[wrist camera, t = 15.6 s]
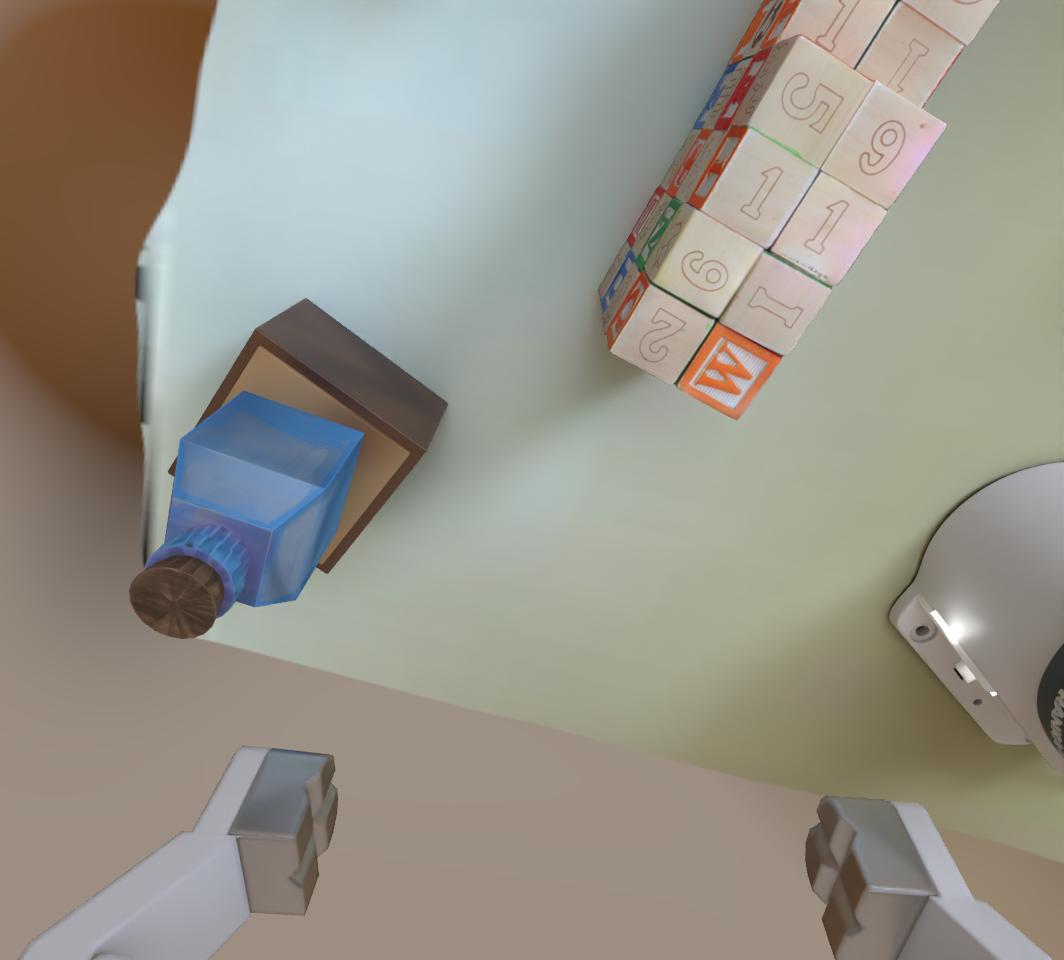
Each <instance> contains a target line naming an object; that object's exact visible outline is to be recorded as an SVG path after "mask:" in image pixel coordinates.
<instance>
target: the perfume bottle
mask: <svg viewBox="0 0 1064 960" xmlns="http://www.w3.org/2000/svg"><path fill="white" fill-rule="evenodd" d="M363 437H364V433H363V432H360V431H357V430H354V429H351V428H349V427H346V426H343V425H340V424H337V423H334V422H332V421H329V420H326V419H323V418H320V417H317V416H315V415H312V414H309V413H306V412H303V411H301V410H298V409H295V408H292V407H289V406H286V405H284V404H281V403H278V402H275V401H272V400H269V399H267V398H264V397H261V396H258V395H255V394H252V393H250V392H247V391H244V390H243V391H242V392H241V393H239V394H238V395H237V396H236V397H234V398H233V399H232V400H230V401H229V402H228V403H226V404H225V405H224V406H223V407H221V408H220V409H219V410H217V411H216V412H215V413H213V414H212V415H211V416H210V417H208V418H207V419H206V420H204V421H203V422H202V423H201V424H199V425H198V426H197V427H195V428H194V429H193V430H191V431H190V432H189V433H188V434H186V435H185V436H184V437H182V438H181V439H180V443H179V450H178V456H177V463H176V470H175V476H174V483H173V490H172V496H171V503H170V509H169V516H168V523H167V529H166V536H165V543H164V544H163V545H162V546H161V547H160V548H159V549H158V550H157V551H156V552H155V553H154V554H153V555H152V556H151V557H150V558H149V559H148V561H147V563H146V566H145V569H144V571H143V572H141V573H140V574H139V575H138V576H137V577H136V578H135V579H134V580H133V581H132V584H131V587H130V590H129V593H130V602H131V604H132V607H133V609H134V611H135V613H136V614H137V615H138V616H139V618H140V619H141V620H142V621H143V622H144V623H145V624H146V625H148V626H149V627H151V628H152V629H153V630H155V631H157V632H159V633H161V634H164V635H166V636H169V637H175V638H180V639H186V638H195V637H198V636H200V635H203V634H205V633H206V632H207V631H208V630H209V629H210V628H211V627H212V626H213V624H214V621H215V619H216V618H219V617H221V616H223V615H224V614H225V613H226V612H227V611H228V610H229V609H230V608H231V607H232V606H233V604H234V603H235V601H237V602H240V603H243V604H246V605H249V606H252V607H259V606H265V605H271V604H276V603H282V602H288V601H294V600H296V599H297V598H298V596H299V594H300V593H301V591H302V589H303V588H304V586H305V584H306V583H307V581H308V579H309V577H310V576H311V574H312V572H313V571H314V569H315V567H316V566H317V564H318V562H319V561H320V559H321V557H322V556H323V554H324V552H325V551H326V549H327V547H328V546H329V544H330V542H331V541H332V539H333V537H334V535H335V534H336V532H337V529H338V525H339V522H340V518H341V515H342V511H343V508H344V504H345V501H346V497H347V494H348V490H349V486H350V483H351V479H352V476H353V472H354V469H355V465H356V462H357V458H358V455H359V451H360V448H361V444H362V441H363Z"/></svg>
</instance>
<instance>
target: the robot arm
mask: <svg viewBox="0 0 1064 960" xmlns="http://www.w3.org/2000/svg"><path fill="white" fill-rule="evenodd" d="M889 618H890V621H891V623H892V624H893V625H894V627H895V628H896V629H897V630H898V631H899V632H900V634H901V635H902V636H903V637H904V638H905V639H906V641H907V642H908V643H909V644H910V645H911V646H912V648H913V649H914V650H915V651H916V652H917V654H918V655H919V656H920V657H921V658H922V659H923V661H924V662H925V663H926V664H927V665H928V666H929V668H930V669H931V670H932V671H933V672H934V673H935V675H936V676H937V677H938V678H939V679H940V681H941V682H942V683H943V684H944V685H945V686H946V688H947V689H948V690H949V691H950V692H951V693H952V695H953V696H954V697H955V698H956V699H957V700H958V702H959V703H960V704H961V705H962V706H963V708H964V709H965V710H966V711H967V712H968V713H969V715H970V716H971V717H972V718H973V719H974V720H975V722H976V723H977V724H978V725H979V726H980V727H981V728H982V730H983V731H984V732H985V733H986V734H987V735H988V736H989V738H990V739H991V740H993V741H994V742H996V743H998V744H1008V745H1026V744H1034V746H1035V747H1036V748H1037V749H1038V751H1039V752H1040V753H1041V755H1042V756H1043V757H1044V759H1045V760H1046V761H1047V763H1048V764H1049V765H1050V766H1051V768H1052V769H1054V770H1056V771H1058V772H1061V773H1064V462H1056V463H1050V464H1044V465H1039V466H1035V467H1032V468H1028V469H1025V470H1022V471H1019V472H1016V473H1014V474H1011V475H1009V476H1006V477H1004V478H1002V479H1000V480H998V481H996V482H994V483H992V484H990V485H988V486H987V487H985V488H983V489H982V490H980V491H979V492H977V493H976V494H974V495H973V496H972V497H970V498H969V499H968V500H966V501H965V502H964V503H963V504H962V505H960V506H959V507H958V508H957V509H956V510H955V511H954V512H953V513H952V514H951V515H950V516H949V517H948V518H947V519H946V520H945V522H944V523H943V524H942V525H941V526H940V528H939V529H938V531H937V532H936V533H935V535H934V537H933V538H932V540H931V542H930V543H929V545H928V547H927V549H926V552H925V554H924V557H923V560H922V563H921V566H920V569H919V571H918V574H917V576H916V578H915V580H914V582H913V583H912V584H911V585H910V586H909V588H908V589H907V590H906V591H905V592H904V593H903V594H902V595H901V596H900V598H899V599H898V600H897V601H896V603H895V604H894V605H893V607H892V609H891V611H890V614H889ZM920 626H923V627H921V628H920V629H917V628H918V627H920ZM334 772H335V764H334V757H333V755H329V754H320V753H311V752H302V751H293V750H284V749H275V748H263V747H253V746H242V747H241V748H240V749H239V750H238V751H237V752H236V753H235V754H234V755H233V757H232V759H231V761H230V763H229V764H228V766H227V768H226V770H225V772H224V774H223V775H222V777H221V779H220V781H219V783H218V784H217V786H216V788H215V790H214V792H213V794H212V796H211V797H210V799H209V801H208V803H207V805H206V806H205V809H204V810H203V812H202V814H201V816H200V817H199V819H198V821H197V823H196V825H195V827H194V828H193V830H192V832H186V831H182V832H181V833H179V834H178V835H177V836H175V837H174V838H172V839H171V840H170V841H168V842H167V843H166V844H164V845H163V846H161V847H160V848H159V849H158V850H156V851H155V852H153V853H152V854H150V855H149V856H148V857H146V858H145V859H143V860H142V861H141V862H139V863H138V864H137V865H135V866H134V867H132V868H131V869H130V870H128V871H127V872H126V873H124V874H123V875H122V876H120V877H119V878H117V879H116V880H114V881H113V882H112V883H110V884H109V885H108V886H106V887H105V888H103V889H102V890H101V891H99V892H98V893H97V894H95V895H94V896H92V897H91V898H90V899H88V900H87V901H86V902H84V903H83V904H81V905H80V906H79V907H77V908H76V909H74V910H73V911H72V912H70V913H69V914H68V915H66V916H65V917H63V918H62V919H61V920H59V921H58V922H57V923H55V924H54V925H52V926H51V927H50V928H48V929H47V930H46V931H44V932H43V933H41V934H40V935H39V936H37V937H36V938H35V939H33V940H32V941H31V942H29V943H28V944H27V946H26V948H25V949H24V951H23V952H22V953H21V955H20V956H19V958H18V959H17V960H209V959H210V958H211V957H212V956H213V954H214V953H215V952H216V951H217V950H218V949H219V948H220V947H221V946H222V945H223V944H224V943H225V942H226V941H227V940H228V939H229V938H230V937H231V936H232V935H233V934H234V933H235V932H236V931H237V930H238V929H239V928H240V927H241V926H242V925H243V924H244V923H245V922H246V920H248V918H249V917H250V916H251V915H250V913H267V914H285V915H286V914H287V915H302V916H305V913H306V910H307V907H308V905H309V902H310V899H311V896H312V893H313V890H314V887H315V885H316V882H317V879H318V876H319V872H318V862H317V858H318V857H319V856H320V855H321V854H322V853H323V852H325V851H326V850H327V849H328V846H329V843H330V840H331V837H332V834H333V830H334V825H335V820H336V815H337V805H338V804H337V803H338V795H337V788H336V787H335V786H334V785H333V784H332V783H331V780H332V778H333V775H334ZM817 813H818V816H819V818H820V821H821V822H820V823H818V824H817V825H815V826H814V827H812V828H811V829H810V831H809V834H808V837H807V841H806V859H805V861H806V867H807V873H808V877H809V880H810V884H811V887H812V890H813V892H814V893H815V894H816V895H817V896H818V897H819V898H820V899H821V900H822V901H823V902H824V903H825V904H826V905H827V907H826V910H825V912H824V915H823V917H822V921H823V924H824V927H825V930H826V934H827V937H828V940H829V943H830V946H831V949H832V952H833V954H834V958H835V960H1053V959H1052V958H1050V957H1049V956H1048V955H1047V954H1046V953H1045V952H1043V951H1042V950H1041V949H1040V948H1039V947H1037V946H1036V945H1035V944H1034V943H1033V942H1032V941H1031V940H1029V939H1028V938H1027V937H1026V936H1024V934H1022V933H1021V932H1020V931H1019V930H1018V929H1017V928H1015V927H1014V926H1013V925H1012V924H1011V923H1009V922H1008V921H1007V920H1006V919H1005V918H1004V917H1002V916H1001V915H1000V914H999V913H997V911H996V910H994V909H993V908H992V907H991V906H989V904H987V903H986V902H985V901H980V900H975V899H974V898H973V896H972V894H971V892H970V890H969V888H968V886H967V885H966V883H965V881H964V879H963V878H962V875H961V873H960V872H959V870H958V868H957V866H956V864H955V862H954V861H953V859H952V857H951V855H950V853H949V851H948V850H947V848H946V846H945V844H944V842H943V840H942V838H941V836H940V835H939V833H938V831H937V829H936V828H935V825H934V823H933V822H932V820H931V818H930V816H929V814H928V812H927V810H926V809H925V808H924V807H923V806H922V805H921V804H920V803H911V802H899V801H885V800H881V799H867V798H853V797H839V796H825V797H824V798H823V799H821V801H820V803H819V806H818V808H817Z"/></svg>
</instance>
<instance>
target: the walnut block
mask: <svg viewBox="0 0 1064 960" xmlns="http://www.w3.org/2000/svg"><path fill="white" fill-rule="evenodd" d="M243 390H244V391H247V392H250V393H252V394H255V395H258V396H261V397H264V398H267V399H269V400H272V401H275V402H278V403H281V404H284V405H286V406H289V407H292V408H295V409H298V410H301V411H303V412H306V413H309V414H312V415H315V416H317V417H320V418H323V419H326V420H329V421H332V422H334V423H337V424H340V425H343V426H346V427H349V428H351V429H354V430H357V431H360V432H363V433H364V437H363V441H362V444H361V448H360V451H359V455H358V458H357V462H356V465H355V469H354V472H353V476H352V479H351V483H350V486H349V490H348V494H347V497H346V501H345V504H344V508H343V511H342V515H341V518H340V522H339V525H338V529H337V532H336V534H335V535H334V537H333V539H332V541H331V542H330V544H329V546H328V547H327V549H326V551H325V552H324V554H323V556H322V557H321V559H320V561H319V562H318V564H317V566H316V567H317V568H318V569H320V570H322V571H323V572H325V573H326V574H328V573H329V572H330V571H331V569H332V568H333V567H334V566H335V565H336V563H337V562H338V561H339V560H340V558H341V557H342V556H343V555H344V553H345V552H346V551H347V550H348V548H349V547H350V546H351V545H352V543H353V542H354V541H355V540H356V538H357V537H358V536H359V535H360V533H361V532H362V531H363V530H364V528H365V527H366V526H367V525H368V523H369V522H370V521H371V520H372V518H373V517H374V516H375V515H376V513H377V512H378V511H379V510H380V508H381V507H382V506H383V505H384V503H385V502H386V501H387V500H388V498H389V497H390V496H391V495H392V493H393V492H394V491H395V490H396V489H397V487H398V486H399V485H400V484H401V482H402V481H403V480H404V479H405V477H406V476H407V475H408V474H409V472H410V471H411V470H412V469H413V467H414V466H415V465H416V464H417V462H418V461H419V460H420V459H421V457H422V456H423V455H424V454H425V452H426V451H427V449H428V447H429V445H430V442H431V440H432V438H433V436H434V434H435V432H436V429H437V427H438V425H439V423H440V421H441V419H442V416H443V414H444V412H445V410H446V408H447V406H448V403H447V402H445V401H444V400H443V399H441V398H440V397H439V396H437V395H436V394H435V393H433V392H432V391H431V390H429V389H428V388H426V387H425V386H424V385H422V384H421V383H420V382H418V381H417V380H416V379H414V378H413V377H412V376H410V375H409V374H408V373H406V372H405V371H404V370H402V369H401V368H400V367H398V366H397V365H395V364H394V363H393V362H391V361H390V360H389V359H387V358H386V357H385V356H383V355H382V354H381V353H379V352H378V351H377V350H375V349H374V348H373V347H371V346H370V345H369V344H367V343H366V342H364V341H363V340H362V339H360V338H359V337H358V336H356V335H355V334H354V333H352V332H351V331H350V330H348V329H347V328H346V327H344V326H343V325H342V324H340V323H339V322H338V321H336V320H335V319H333V318H332V317H331V316H329V315H328V314H327V313H325V312H324V311H323V310H321V309H320V308H319V307H317V306H316V305H315V304H313V303H312V302H311V301H309V300H308V299H306V298H305V299H303V300H302V301H300V302H298V303H297V304H295V305H294V306H292V307H290V308H289V309H287V310H285V311H284V312H282V313H280V314H279V315H277V316H275V317H274V318H272V319H271V320H269V321H267V322H266V323H264V324H262V325H261V326H259V327H257V328H256V329H255V330H254V332H253V334H252V335H251V337H250V338H249V340H248V342H247V343H246V345H245V347H244V348H243V350H242V351H241V353H240V355H239V356H238V358H237V360H236V361H235V363H234V365H233V366H232V368H231V369H230V371H229V373H228V374H227V376H226V378H225V379H224V381H223V382H222V384H221V386H220V387H219V389H218V391H217V392H216V394H215V395H214V397H213V399H212V400H211V402H210V404H209V405H208V407H207V409H206V410H205V412H204V413H203V415H202V417H201V418H200V420H199V422H198V423H197V425H196V426H195V427H197V426H198V425H199V424H201V423H202V422H203V421H204V420H206V419H207V418H208V417H210V416H211V415H212V414H213V413H215V412H216V411H217V410H219V409H220V408H221V407H223V406H224V405H225V404H226V403H228V402H229V401H230V400H232V399H233V398H234V397H236V396H237V395H238V394H239V393H241V392H242V391H243ZM176 463H177V457H176V459H175V461H174V462H173V464H172V466H171V467H170V469H169V470H168V473H169V474H171V475H172V476H175V470H176Z"/></svg>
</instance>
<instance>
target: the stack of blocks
mask: <svg viewBox="0 0 1064 960" xmlns="http://www.w3.org/2000/svg"><path fill="white" fill-rule="evenodd" d="M999 2H1000V0H765V1H764V2H763V4H762V5H761V7H760V9H759V10H758V12H757V14H756V16H755V17H754V19H753V21H752V23H751V24H750V26H749V28H748V30H747V31H746V33H745V35H744V37H743V38H742V40H741V42H740V44H739V45H738V47H737V49H736V51H735V52H734V54H733V56H732V57H731V59H730V61H729V65H728V68H727V70H726V71H725V73H724V75H723V76H722V78H721V80H720V82H719V83H718V85H717V87H716V89H715V90H714V92H713V94H712V96H711V97H710V99H709V101H708V102H707V104H706V106H705V108H704V109H703V111H702V113H701V114H700V116H699V118H698V120H697V121H696V123H695V125H694V128H693V130H692V131H691V133H690V134H689V136H688V138H687V140H686V141H685V143H684V145H683V147H682V148H681V150H680V152H679V154H678V155H677V157H676V159H675V160H674V162H673V164H672V166H671V167H670V169H669V171H668V173H667V174H666V176H665V178H664V180H663V182H662V184H661V185H660V186H659V187H658V188H657V189H656V191H655V193H654V194H653V196H652V198H651V199H650V201H649V203H648V204H647V206H646V208H645V210H644V211H643V213H642V215H641V217H640V218H639V220H638V222H637V223H636V225H635V227H634V229H633V230H632V232H631V234H630V236H629V237H628V239H627V241H626V242H625V244H624V245H623V247H622V249H621V250H620V252H619V254H618V255H617V257H616V259H615V261H614V262H613V264H612V266H611V268H610V269H609V271H608V273H607V274H606V276H605V278H604V280H603V281H602V283H601V285H600V287H599V295H600V301H601V302H602V309H603V318H602V319H603V327H604V333H605V334H606V335H607V339H608V346H609V350H610V352H611V353H613V354H615V355H617V356H618V357H620V358H622V359H624V360H626V361H628V362H629V363H631V364H633V365H635V366H637V367H638V368H640V369H642V370H644V371H646V372H647V373H649V374H651V375H653V376H654V377H656V378H658V379H660V380H661V381H663V382H665V383H667V384H669V385H673V384H675V385H676V387H677V388H678V389H680V390H681V391H683V392H684V393H686V394H688V395H690V396H692V397H693V398H695V399H697V400H699V401H701V402H703V403H704V404H706V405H708V406H710V407H712V408H714V409H716V410H718V411H719V412H721V413H723V414H725V415H727V416H729V417H731V418H733V419H735V420H739V419H740V418H741V416H742V415H743V413H744V412H745V411H746V409H747V408H748V407H749V405H750V404H751V402H752V401H753V399H754V398H755V397H756V395H757V394H758V392H759V391H760V389H761V388H762V387H763V385H764V384H765V383H766V381H767V380H768V378H769V377H770V376H771V374H772V373H773V371H774V370H775V369H776V367H777V366H778V364H779V363H780V361H781V358H782V357H783V356H786V355H788V354H789V353H790V352H791V350H792V349H793V347H794V346H795V344H796V343H797V342H798V340H799V339H800V337H801V336H802V334H803V333H804V331H805V330H806V328H807V327H808V326H809V324H810V323H811V321H812V320H813V318H814V317H815V316H816V314H817V313H818V311H819V310H820V308H821V307H822V305H823V304H824V302H825V301H826V299H827V298H828V296H829V295H830V293H831V290H832V286H835V285H837V284H838V283H840V282H841V281H842V279H843V277H844V276H845V275H846V273H847V272H848V271H849V269H850V268H851V266H852V265H853V263H854V262H855V260H856V259H857V257H858V256H859V254H860V253H861V252H862V250H863V249H864V247H865V246H866V244H867V243H868V241H869V240H870V239H871V237H872V236H873V234H874V233H875V231H876V230H877V228H878V227H879V226H880V224H881V223H882V221H883V220H884V218H885V216H886V213H887V209H888V208H889V207H891V206H892V205H893V203H894V202H895V201H896V200H897V198H898V197H899V195H900V194H901V192H902V191H903V189H904V188H905V186H906V185H907V184H908V182H909V181H910V179H911V178H912V176H913V175H914V173H915V172H916V171H917V169H918V168H919V166H920V165H921V163H922V162H923V161H924V159H925V158H926V156H927V155H928V153H929V152H930V150H931V149H932V147H933V146H934V145H935V143H936V142H937V140H938V139H939V137H940V136H941V134H942V133H943V132H944V130H945V129H946V126H947V124H946V123H944V122H942V121H941V120H939V119H938V118H936V117H934V116H933V115H931V114H930V113H928V112H926V111H925V110H923V109H922V108H923V107H924V105H925V104H926V102H927V101H928V99H929V98H930V96H931V95H932V94H933V92H934V91H935V89H936V88H937V86H938V85H939V83H940V82H941V81H942V79H943V78H944V76H945V75H946V73H947V72H948V71H949V69H950V68H951V66H952V65H953V63H954V62H955V61H956V59H957V58H958V56H959V55H960V53H961V52H962V50H963V48H964V47H966V46H968V45H969V44H970V43H971V41H972V40H973V39H974V37H975V36H976V34H977V33H978V31H979V30H980V29H981V27H982V26H983V24H984V23H985V22H986V20H987V19H988V17H989V16H990V14H991V13H992V12H993V10H994V9H995V7H996V6H997V4H998V3H999Z"/></svg>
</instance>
